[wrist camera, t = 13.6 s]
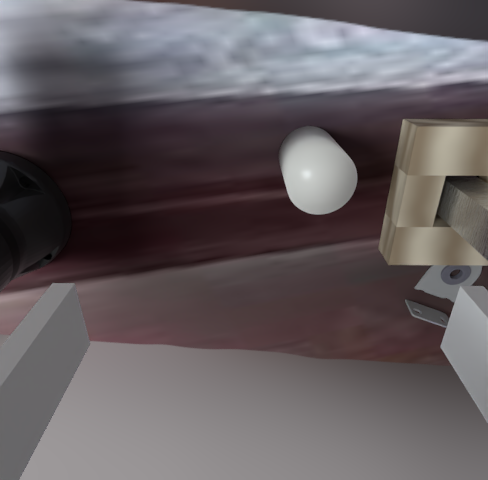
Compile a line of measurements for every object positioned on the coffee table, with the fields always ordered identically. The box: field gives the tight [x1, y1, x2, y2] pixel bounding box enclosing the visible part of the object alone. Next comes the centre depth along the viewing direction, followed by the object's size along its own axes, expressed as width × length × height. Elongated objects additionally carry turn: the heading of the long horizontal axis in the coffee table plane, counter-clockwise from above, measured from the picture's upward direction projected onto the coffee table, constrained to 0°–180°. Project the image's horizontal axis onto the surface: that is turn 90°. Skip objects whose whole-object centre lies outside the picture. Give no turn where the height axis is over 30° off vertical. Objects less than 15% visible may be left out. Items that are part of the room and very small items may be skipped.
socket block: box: [378, 119, 488, 266], centre depth 42 cm, size 14×16×4 cm
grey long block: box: [436, 176, 488, 261], centre depth 38 cm, size 4×4×14 cm
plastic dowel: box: [279, 126, 357, 214], centre depth 39 cm, size 6×6×9 cm
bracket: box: [405, 265, 482, 328], centre depth 49 cm, size 7×10×4 cm, turn 158°
